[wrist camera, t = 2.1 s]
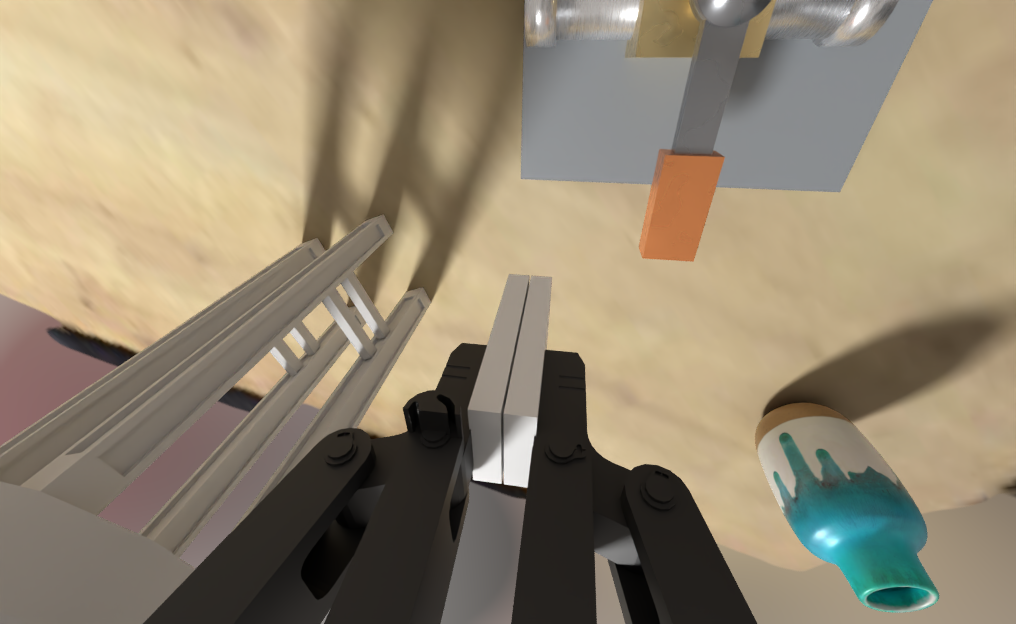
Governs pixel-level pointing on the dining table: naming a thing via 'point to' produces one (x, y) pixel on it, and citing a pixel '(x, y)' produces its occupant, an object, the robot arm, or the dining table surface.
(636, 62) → the valve board
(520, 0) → the dining table surface
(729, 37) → the valve lever
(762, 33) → the valve pipe
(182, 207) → the dining table surface
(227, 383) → the stool
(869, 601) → the vase
